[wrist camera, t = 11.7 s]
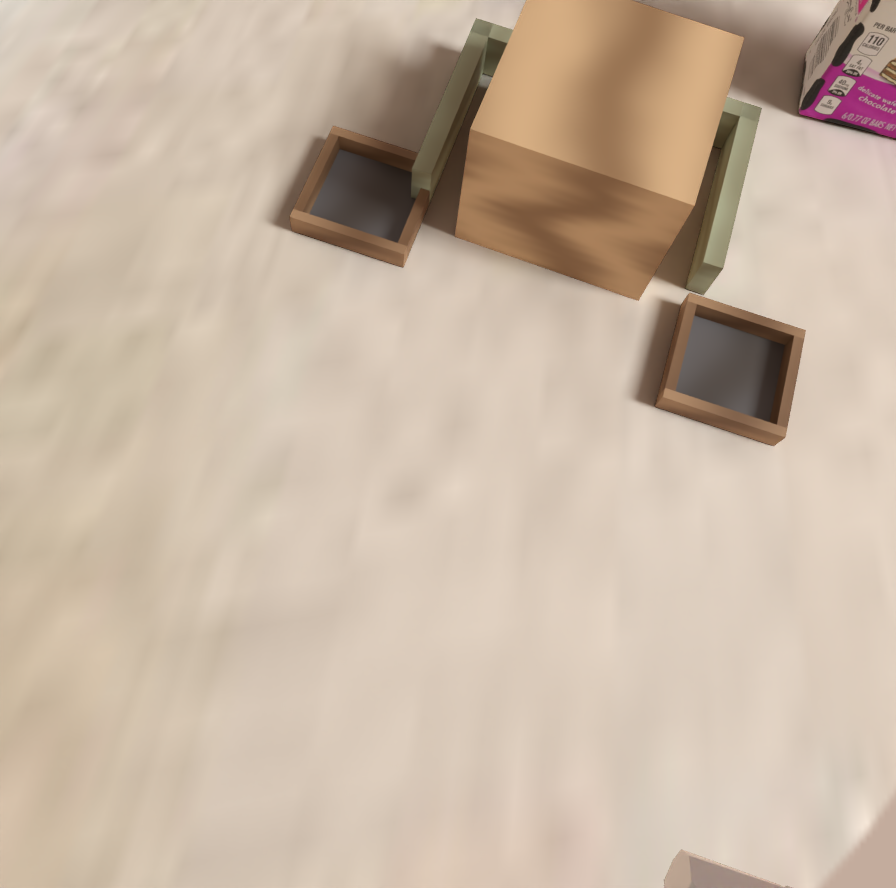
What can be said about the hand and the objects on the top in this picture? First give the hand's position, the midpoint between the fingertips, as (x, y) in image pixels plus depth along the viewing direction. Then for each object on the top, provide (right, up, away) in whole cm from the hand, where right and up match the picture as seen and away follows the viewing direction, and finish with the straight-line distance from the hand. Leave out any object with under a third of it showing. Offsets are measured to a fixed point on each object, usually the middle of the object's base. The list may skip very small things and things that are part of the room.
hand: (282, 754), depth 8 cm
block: (+8, +17, +34) cm, 39 cm away
